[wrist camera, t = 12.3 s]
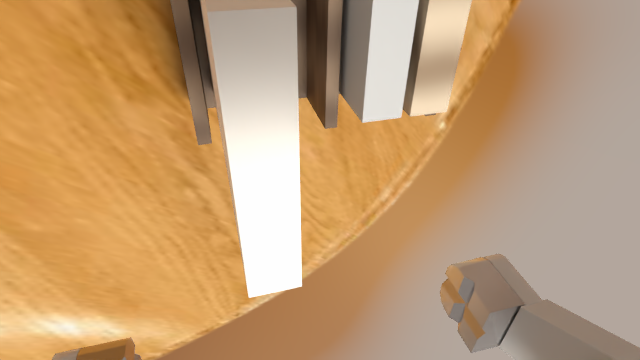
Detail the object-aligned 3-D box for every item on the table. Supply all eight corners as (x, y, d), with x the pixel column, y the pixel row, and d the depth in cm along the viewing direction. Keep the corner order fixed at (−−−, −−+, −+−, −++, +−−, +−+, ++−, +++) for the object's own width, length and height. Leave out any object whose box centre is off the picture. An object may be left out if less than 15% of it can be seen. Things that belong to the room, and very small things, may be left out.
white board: (188, -74, 27) (206, 11, 11) (224, -74, 28) (296, 6, 11) (213, 91, 35) (248, 297, 18) (241, 88, 35) (301, 286, 18)
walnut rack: (156, -101, 27) (151, -95, 22) (427, -100, 31) (478, -94, 26) (195, 104, 36) (198, 145, 31) (401, 82, 40) (435, 114, 35)
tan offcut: (371, -60, 31) (435, -38, 23) (407, -61, 32) (480, -40, 24) (361, 66, 37) (410, 116, 29) (391, 63, 38) (446, 111, 30)
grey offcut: (325, -59, 30) (376, -36, 23) (363, -60, 31) (424, -38, 23) (323, 69, 36) (362, 122, 29) (354, 67, 37) (401, 117, 29)
